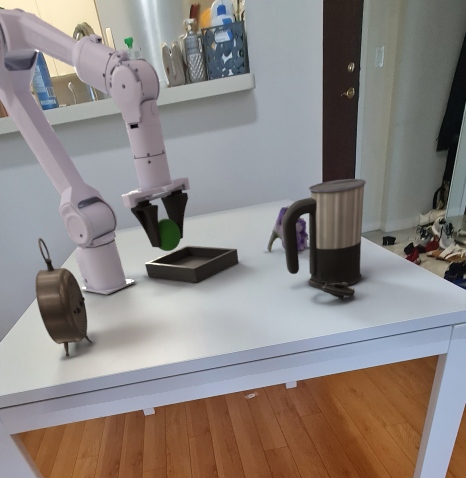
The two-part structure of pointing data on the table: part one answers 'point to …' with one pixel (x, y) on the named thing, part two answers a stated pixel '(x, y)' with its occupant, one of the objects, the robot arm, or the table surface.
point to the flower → (278, 231)
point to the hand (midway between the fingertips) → (167, 242)
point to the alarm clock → (61, 304)
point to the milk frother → (329, 235)
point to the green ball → (169, 234)
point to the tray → (192, 263)
